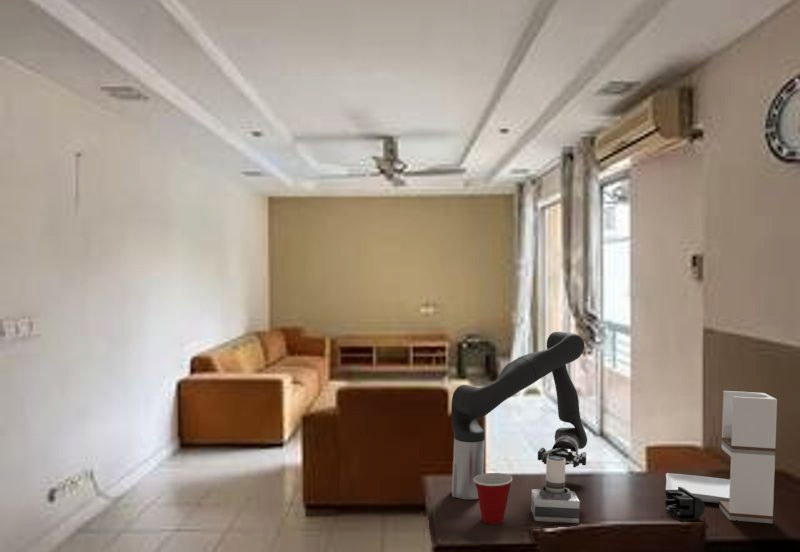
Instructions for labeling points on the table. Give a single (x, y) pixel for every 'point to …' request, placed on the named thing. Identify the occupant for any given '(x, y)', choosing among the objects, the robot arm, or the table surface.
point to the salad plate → (700, 486)
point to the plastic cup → (493, 495)
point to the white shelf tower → (749, 455)
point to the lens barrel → (555, 474)
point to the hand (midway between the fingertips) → (559, 462)
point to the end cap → (684, 504)
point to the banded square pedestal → (555, 506)
